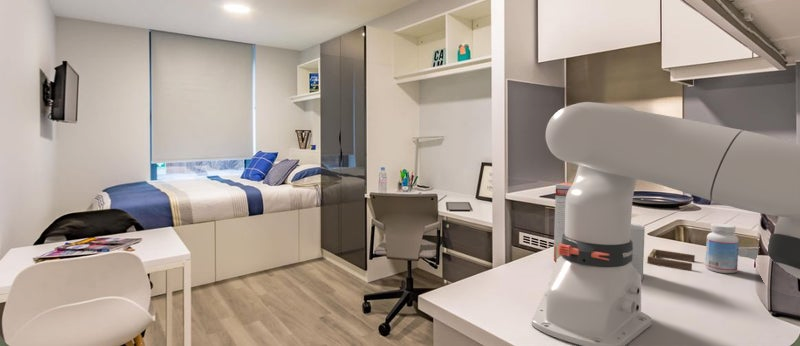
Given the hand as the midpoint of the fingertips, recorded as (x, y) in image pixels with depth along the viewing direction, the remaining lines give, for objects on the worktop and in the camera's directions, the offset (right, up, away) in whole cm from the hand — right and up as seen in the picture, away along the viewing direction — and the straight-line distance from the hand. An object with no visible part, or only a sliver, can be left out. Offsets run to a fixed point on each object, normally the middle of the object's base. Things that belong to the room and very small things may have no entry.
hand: (738, 251), depth 96 cm
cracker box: (-34, -5, +6) cm, 35 cm away
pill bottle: (-3, -5, +2) cm, 6 cm away
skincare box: (-27, -6, -2) cm, 27 cm away
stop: (-10, -5, +8) cm, 14 cm away
